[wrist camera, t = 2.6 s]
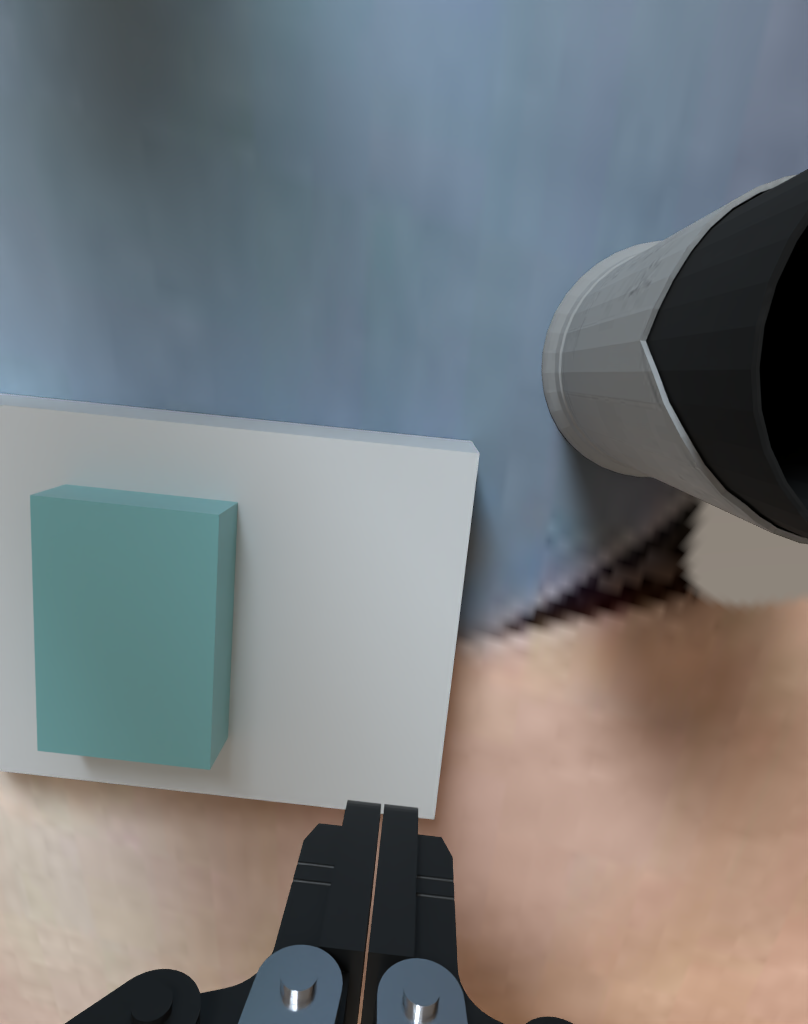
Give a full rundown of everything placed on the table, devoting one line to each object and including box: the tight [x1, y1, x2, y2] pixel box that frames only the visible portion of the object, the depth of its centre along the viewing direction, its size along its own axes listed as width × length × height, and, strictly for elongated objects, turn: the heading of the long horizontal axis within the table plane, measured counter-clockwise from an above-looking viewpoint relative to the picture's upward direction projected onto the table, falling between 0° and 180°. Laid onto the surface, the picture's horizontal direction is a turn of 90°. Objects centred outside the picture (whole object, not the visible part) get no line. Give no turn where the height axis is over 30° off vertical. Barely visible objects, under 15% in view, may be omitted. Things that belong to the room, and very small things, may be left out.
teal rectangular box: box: [30, 484, 238, 770], centre depth 22 cm, size 9×6×2 cm, turn 174°
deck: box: [0, 393, 479, 819], centre depth 25 cm, size 14×20×4 cm
